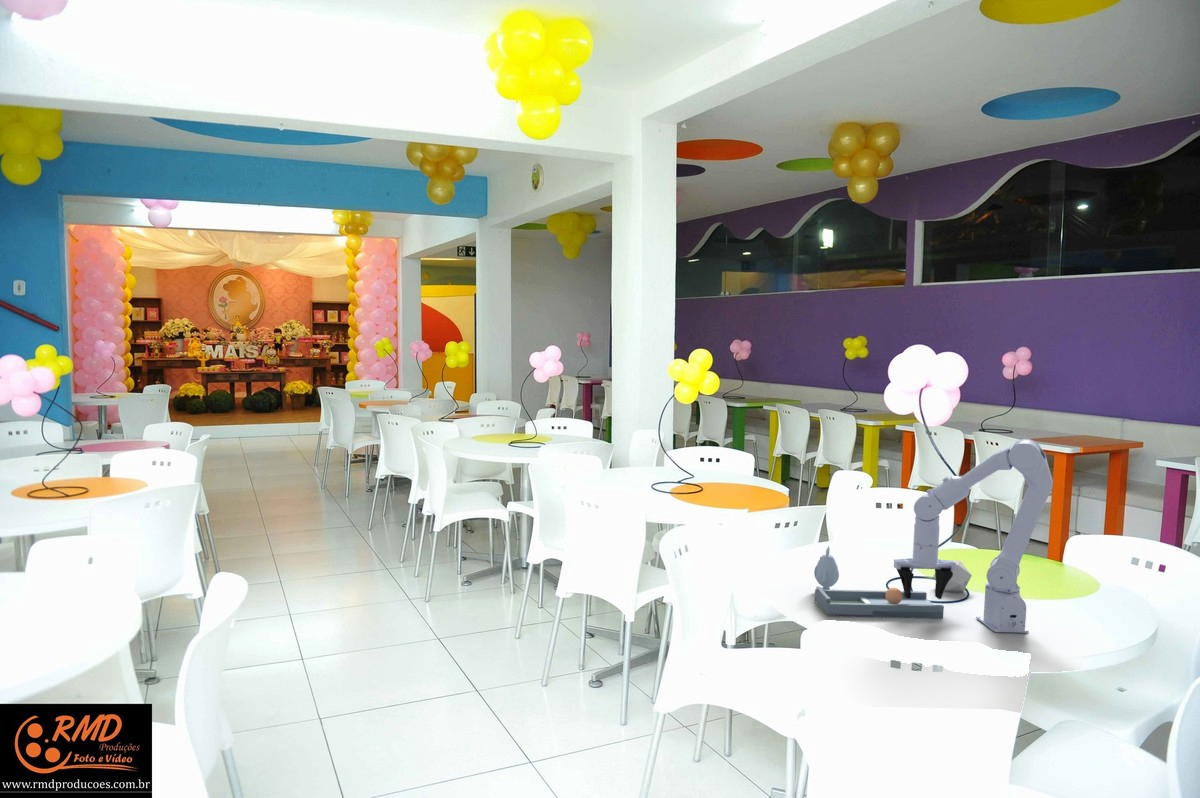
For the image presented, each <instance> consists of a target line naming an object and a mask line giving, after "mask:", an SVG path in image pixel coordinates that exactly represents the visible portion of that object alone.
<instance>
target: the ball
mask: <svg viewBox="0 0 1200 798" xmlns="http://www.w3.org/2000/svg"><path fill="white" fill-rule="evenodd" d="M885 591H886V594H885V597H886V600H887V601H888V602H889V603H891V604H898V603H900V602H901V601H902V598H903V596H902V593H901V591H902V590H900V589H899V588H896V587H890V588H888V589H887V590H885Z"/></svg>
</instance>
